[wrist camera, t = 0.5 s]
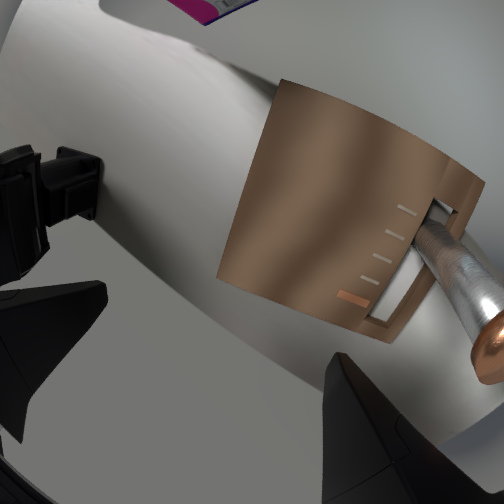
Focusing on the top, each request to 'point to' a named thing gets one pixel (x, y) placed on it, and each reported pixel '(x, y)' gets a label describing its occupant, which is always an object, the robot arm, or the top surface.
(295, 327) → the top surface
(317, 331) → the top surface
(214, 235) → the top surface
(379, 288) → the brown wooden flat board
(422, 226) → the capped cylinder
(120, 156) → the top surface
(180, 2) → the supplement box
